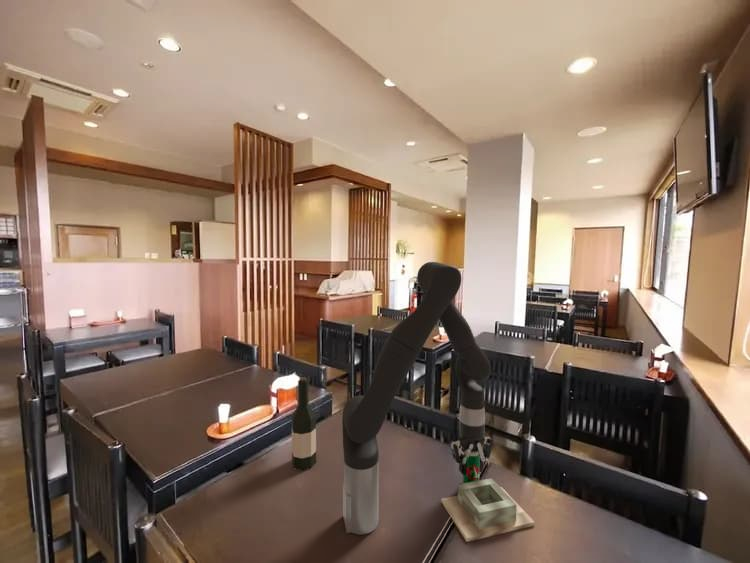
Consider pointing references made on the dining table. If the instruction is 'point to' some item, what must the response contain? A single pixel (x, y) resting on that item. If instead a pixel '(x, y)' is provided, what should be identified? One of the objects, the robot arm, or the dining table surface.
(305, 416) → the wine bottle
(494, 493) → the holder
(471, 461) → the soda can
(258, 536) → the dining table surface
